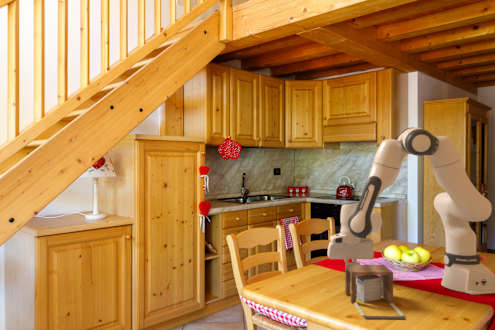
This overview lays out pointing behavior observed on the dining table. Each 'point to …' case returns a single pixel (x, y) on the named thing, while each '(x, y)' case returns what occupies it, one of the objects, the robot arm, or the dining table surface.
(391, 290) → the tunnel
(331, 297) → the dining table surface
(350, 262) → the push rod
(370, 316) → the dark grey bar
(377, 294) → the medicine box
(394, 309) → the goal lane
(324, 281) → the dining table surface
